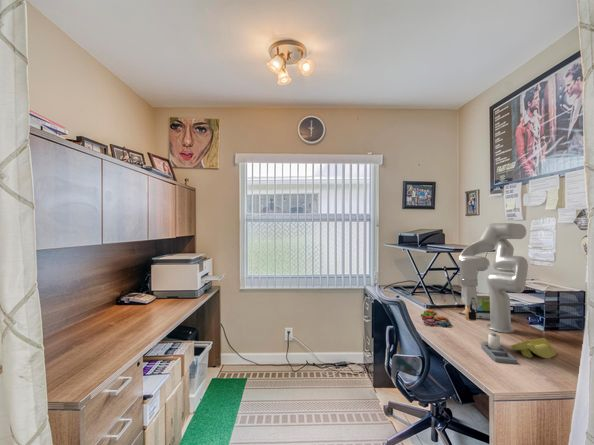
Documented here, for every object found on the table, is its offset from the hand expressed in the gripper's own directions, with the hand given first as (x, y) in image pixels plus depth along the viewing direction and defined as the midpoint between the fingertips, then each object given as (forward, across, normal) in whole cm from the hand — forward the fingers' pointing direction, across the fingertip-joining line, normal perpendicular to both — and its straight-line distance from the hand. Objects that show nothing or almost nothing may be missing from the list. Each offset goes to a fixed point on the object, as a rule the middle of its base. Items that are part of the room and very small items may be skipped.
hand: (470, 317), depth 148 cm
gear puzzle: (+13, -35, -11) cm, 39 cm away
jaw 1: (+1, 0, 0) cm, 1 cm away
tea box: (+14, -46, +19) cm, 52 cm away
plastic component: (+13, +12, +20) cm, 27 cm away
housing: (+11, +18, +5) cm, 22 cm away
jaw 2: (+11, +14, +5) cm, 18 cm away
